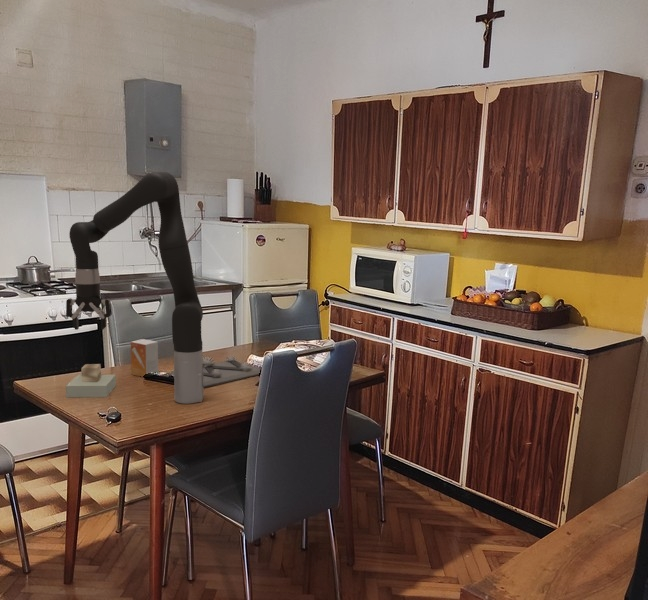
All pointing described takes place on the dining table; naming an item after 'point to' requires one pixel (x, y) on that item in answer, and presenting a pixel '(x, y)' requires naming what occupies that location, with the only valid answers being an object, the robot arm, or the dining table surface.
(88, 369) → the maple cube
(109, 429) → the dining table surface
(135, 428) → the dining table surface
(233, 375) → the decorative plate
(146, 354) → the small box
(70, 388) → the plate
